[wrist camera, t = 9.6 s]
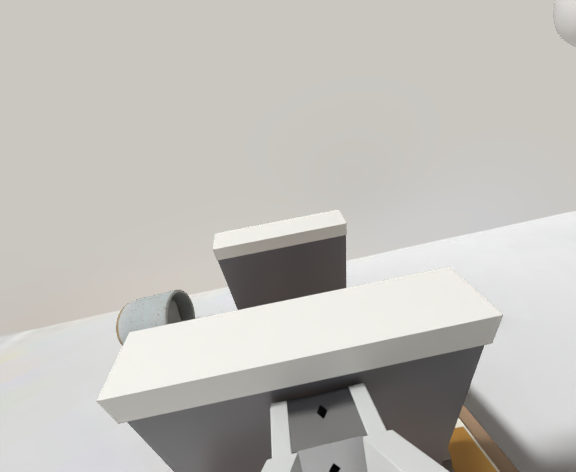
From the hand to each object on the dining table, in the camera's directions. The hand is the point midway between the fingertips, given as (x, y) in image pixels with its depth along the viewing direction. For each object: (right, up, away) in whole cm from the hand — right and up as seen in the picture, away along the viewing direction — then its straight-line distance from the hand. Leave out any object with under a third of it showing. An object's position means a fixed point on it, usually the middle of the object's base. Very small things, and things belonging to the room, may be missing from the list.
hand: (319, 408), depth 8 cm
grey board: (+1, -7, +6) cm, 9 cm away
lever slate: (0, -3, +21) cm, 21 cm away
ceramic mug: (-19, -11, +29) cm, 36 cm away
